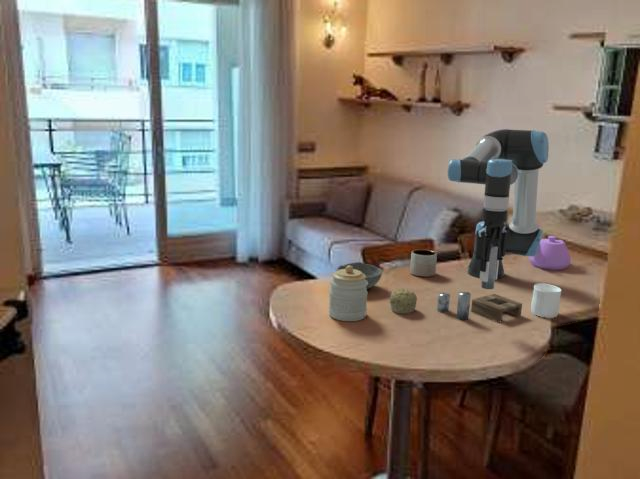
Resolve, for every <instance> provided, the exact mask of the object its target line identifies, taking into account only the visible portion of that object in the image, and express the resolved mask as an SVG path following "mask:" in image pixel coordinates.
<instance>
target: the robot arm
mask: <svg viewBox="0 0 640 479" xmlns="http://www.w3.org/2000/svg"><path fill="white" fill-rule="evenodd" d="M549 148H550V147H549V137H548V135H547V133H546V132H544V131H539V130H527V129H526V130H525V129H507V128H505V129H499V130H495V131H492V132H489V133H487V134H485V135H484V136H481V137H480V138H479V139H478V141H477V142H476V144H475V146H474V147H473V149H471V151H470V152H469V153H468V154H466V156H464V157H463V159H460V158H457V159H456V158H455V159H451V160H450V161H449V163H448V166H447V178H448V180H449V181H451V182H454V183H455V182H457V183H463V184H464V183H466V184H477V185H484V197H483V205H482V206H483V209H482V217H481V218H482V219H481V220H482V221H479V222H478V223H477V224H476V227H475V233H474V244H473V255H472V257H471V260H470V262H469V264H468V267H467V273H468V274H469V275H470V276H473V277H476V278H479V281H481V282H482V281H484V282H488V273H489V263H490V262H488V258H489V254H490V250H491V245H492V244H493V245H497V246H498V253H497V263H496V273H495V281H496V280H498V279H501V278H504V277H505V268H504V264H503V260H504V258H505V255H506V254H510V255H518V256H522V257H529V256H531V257H533V256H535V255H536V254H537V251H538V248H539V245H540V241H541V239H542V236H543V231H544V230H543V229H540V226H539V223H538V222H537V221H536V212H537V201H538V200H537V198H538V197H537V196H538V184H539V183H538V182H539V181H538V180H539V171H540V169H541V168H543V166H544V164H546V163H547V161H548V159H549ZM513 184H514V185H513ZM512 185H513V186H514V188H513V189H514V190H513V208H512V209H513V211H512V213H513V215H512V221H510V222H509V223H508V225H507V224H506V222H507V221H508V220H507V219H508V212H509V211H508V209H509V203H510V190H511V186H512Z"/></svg>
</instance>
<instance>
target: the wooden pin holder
mask: <svg viewBox="0 0 640 479" xmlns="http://www.w3.org/2000/svg"><path fill="white" fill-rule="evenodd" d="M522 309H523V303H522V302H519V301H516V300H513V299H510V298H508V297H505V296H502V295H499V294H496V293H493V294H492V293H491V294H487V295H484V296H480V297H476V298H473V299H472V301H471V310H470V312H472V313H474V314H476V315H479V316H481V317H484V318H487V319H490V320H492V321H494V320H495V321H494V322H497V323H501V322H503V314H504V312H505V313H507V314H510V313H511V315H513V314H514V316H516V317H520V315H521V316H522ZM500 321H501V322H500Z"/></svg>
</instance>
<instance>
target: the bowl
mask: <svg viewBox="0 0 640 479" xmlns="http://www.w3.org/2000/svg"><path fill="white" fill-rule="evenodd" d="M349 265H350V266H352V267H353V269H355V270H359V271H361V272H362V273H363V274H365V275H366V278H365V280H366V281H367V282H368V285H367V286H366V290H368V289H371V288H374V286H376V285H377V284H378V283H379V281H380V280H381V278H382V274H383V269H382V268H381V267H377V266H375V265H372V264H368V263H365V262H361V261H356V262H351V263H347V264H343V265H340V266H338V267H337V269H336V272H337V271H338V270H340V269H346V267H347V266H349Z"/></svg>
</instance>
